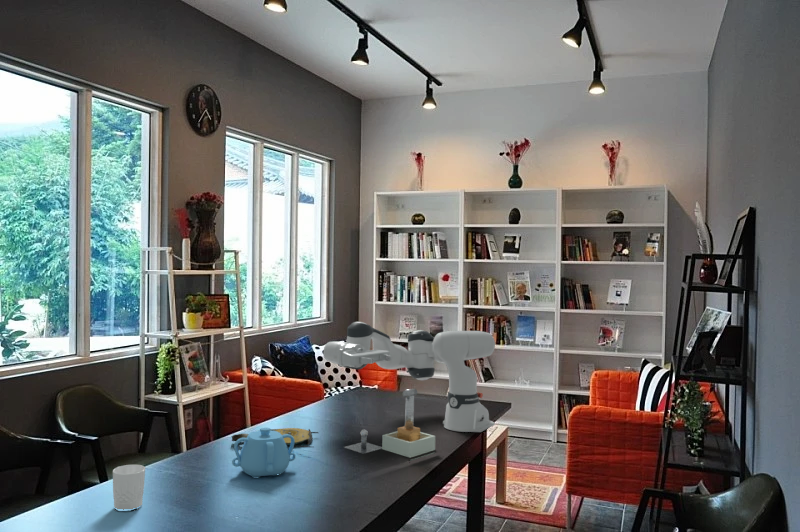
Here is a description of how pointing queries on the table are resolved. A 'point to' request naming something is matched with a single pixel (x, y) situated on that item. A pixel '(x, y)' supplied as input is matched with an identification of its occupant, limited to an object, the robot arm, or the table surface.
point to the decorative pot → (264, 453)
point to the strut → (409, 419)
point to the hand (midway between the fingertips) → (381, 359)
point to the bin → (409, 445)
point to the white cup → (128, 486)
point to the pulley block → (299, 436)
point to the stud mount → (363, 444)
